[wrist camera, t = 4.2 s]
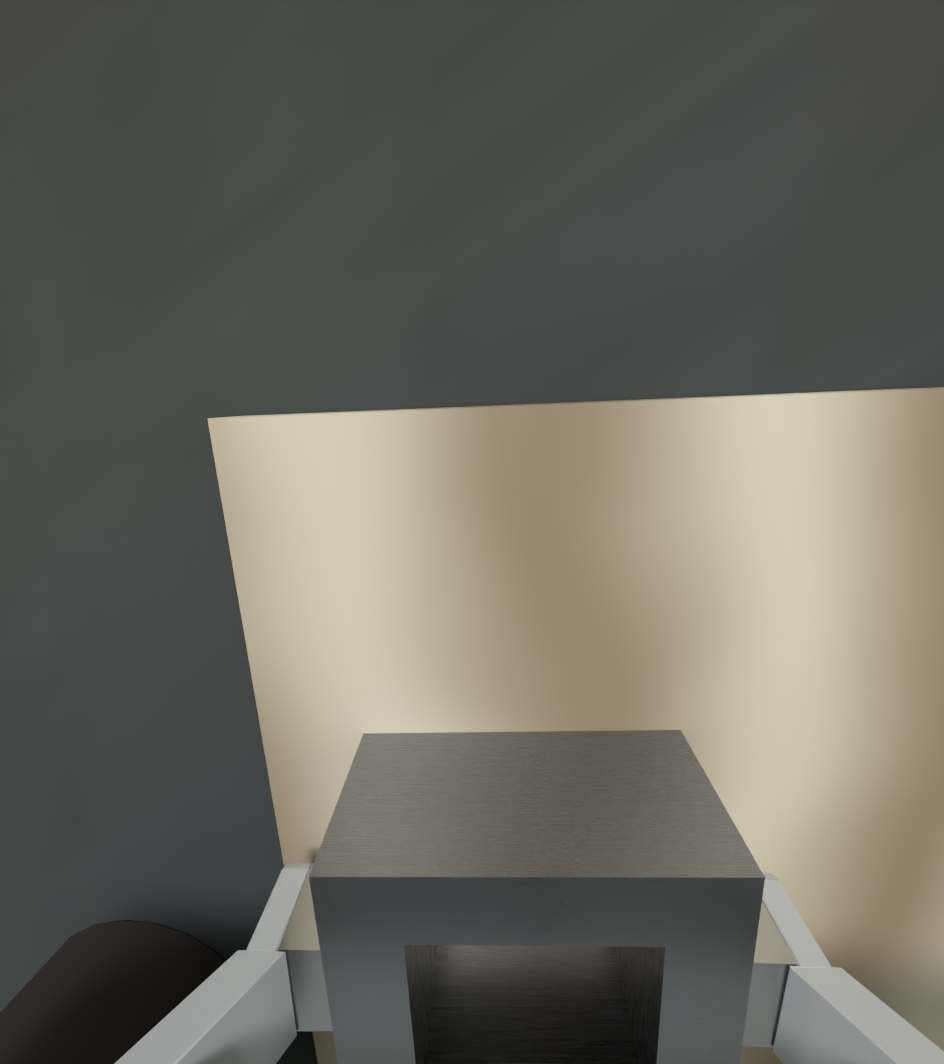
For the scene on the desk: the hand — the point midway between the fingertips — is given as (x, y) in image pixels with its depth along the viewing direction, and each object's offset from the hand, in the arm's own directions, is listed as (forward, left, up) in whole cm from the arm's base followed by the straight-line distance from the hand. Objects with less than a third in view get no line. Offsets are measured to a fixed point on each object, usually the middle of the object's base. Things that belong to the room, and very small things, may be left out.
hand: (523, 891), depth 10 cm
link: (0, 0, -1) cm, 1 cm away
